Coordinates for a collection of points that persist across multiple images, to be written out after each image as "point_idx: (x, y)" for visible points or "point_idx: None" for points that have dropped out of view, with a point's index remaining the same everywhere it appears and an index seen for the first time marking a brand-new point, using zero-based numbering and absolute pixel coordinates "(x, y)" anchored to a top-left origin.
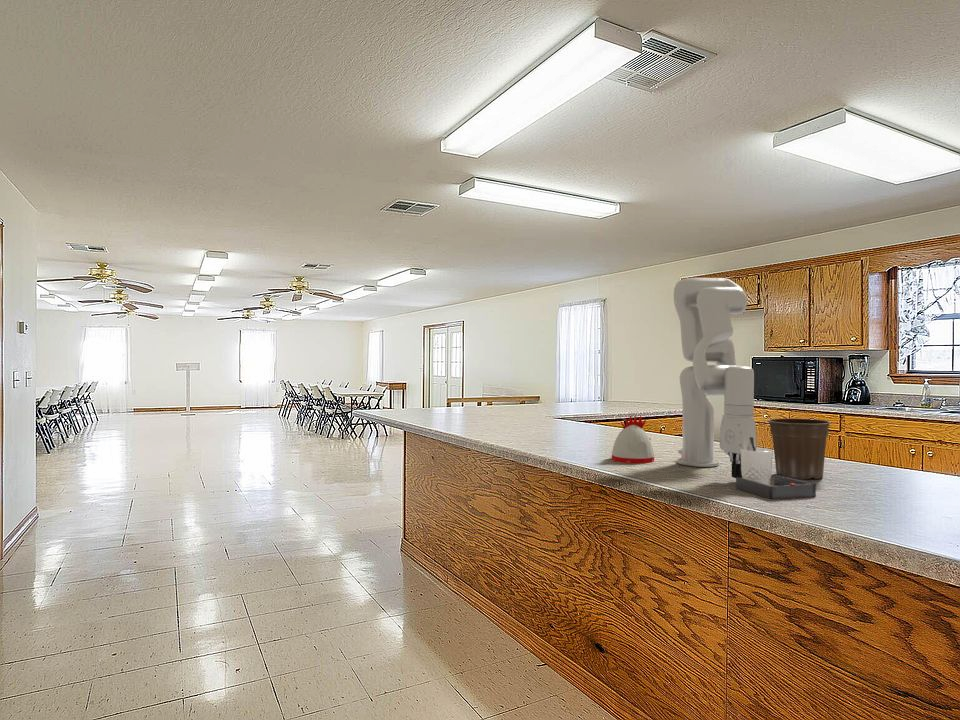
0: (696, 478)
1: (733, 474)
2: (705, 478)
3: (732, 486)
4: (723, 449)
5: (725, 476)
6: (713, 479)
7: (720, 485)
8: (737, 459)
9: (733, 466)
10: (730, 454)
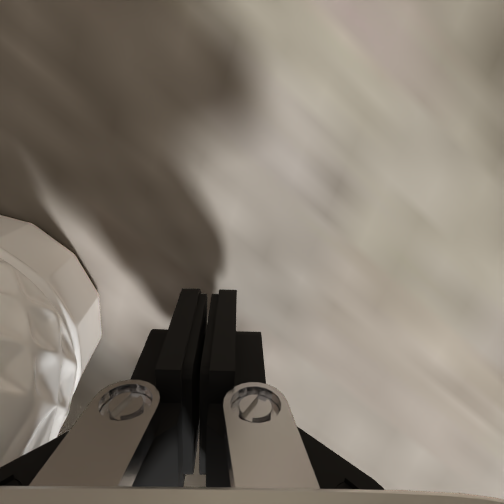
0: (486, 61)
1: (211, 301)
2: (443, 152)
3: (54, 137)
4: (429, 495)
5: (426, 363)
6: (375, 192)
7: (118, 53)
8: (109, 430)
9: (205, 348)
10: (286, 480)
